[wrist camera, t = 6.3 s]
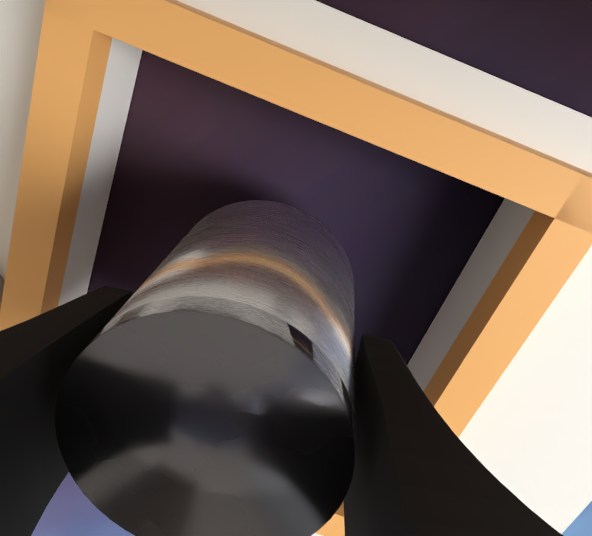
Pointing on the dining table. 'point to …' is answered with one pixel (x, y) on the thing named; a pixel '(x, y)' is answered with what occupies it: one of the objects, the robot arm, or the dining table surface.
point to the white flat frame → (362, 124)
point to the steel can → (222, 384)
